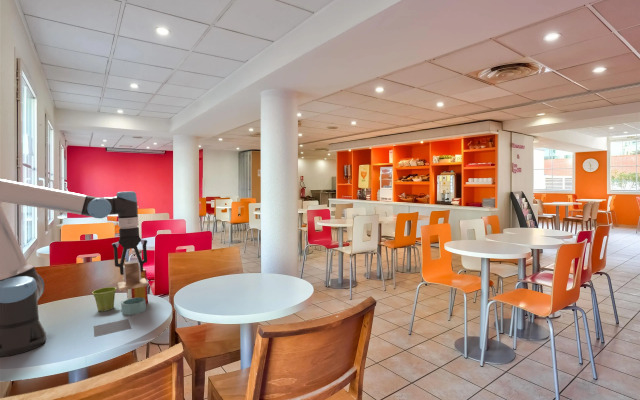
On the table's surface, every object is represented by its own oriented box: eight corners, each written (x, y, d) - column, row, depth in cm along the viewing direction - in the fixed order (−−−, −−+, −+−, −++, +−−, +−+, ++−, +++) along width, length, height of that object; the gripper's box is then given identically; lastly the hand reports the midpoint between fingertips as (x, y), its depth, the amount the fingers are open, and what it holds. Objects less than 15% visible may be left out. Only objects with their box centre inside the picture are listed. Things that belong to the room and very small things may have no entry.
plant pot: (109, 312, 155) (108, 293, 154) (88, 313, 155) (87, 293, 155) (122, 305, 164) (121, 286, 164) (102, 305, 164) (100, 287, 164)
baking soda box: (127, 301, 169) (125, 268, 168) (142, 298, 173) (140, 266, 173) (132, 306, 162) (130, 272, 161) (148, 303, 166) (146, 269, 165)
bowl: (123, 317, 148) (122, 306, 148) (121, 311, 156) (120, 300, 155) (147, 312, 153) (146, 301, 153) (144, 307, 161) (143, 296, 160)
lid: (119, 290, 146) (117, 266, 146) (117, 284, 155) (115, 262, 155) (148, 285, 152) (147, 262, 152) (145, 280, 161) (143, 258, 161)
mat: (94, 338, 129) (94, 336, 129) (93, 327, 139) (93, 326, 139) (131, 329, 135) (131, 328, 135) (128, 320, 145) (128, 318, 145)
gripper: (104, 230, 144) (108, 286, 146) (153, 225, 154) (156, 278, 156) (104, 228, 151) (107, 282, 152) (150, 224, 160) (153, 275, 162)
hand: (132, 280), depth 154 cm, fingers closed on lid, 5 cm apart
